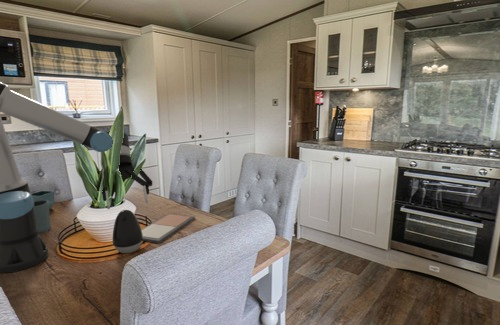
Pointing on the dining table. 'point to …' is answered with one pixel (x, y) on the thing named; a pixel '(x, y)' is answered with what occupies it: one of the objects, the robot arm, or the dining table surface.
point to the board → (165, 227)
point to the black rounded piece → (127, 232)
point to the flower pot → (45, 197)
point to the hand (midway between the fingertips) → (128, 204)
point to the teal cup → (42, 215)
